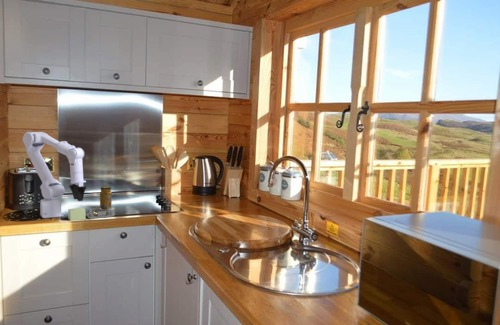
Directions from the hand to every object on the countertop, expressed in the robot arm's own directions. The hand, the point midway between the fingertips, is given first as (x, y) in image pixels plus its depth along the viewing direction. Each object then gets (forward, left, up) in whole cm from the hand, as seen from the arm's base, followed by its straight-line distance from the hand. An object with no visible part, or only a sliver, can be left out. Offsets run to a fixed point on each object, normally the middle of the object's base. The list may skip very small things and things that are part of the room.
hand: (78, 199), depth 205 cm
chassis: (+11, +2, -10) cm, 14 cm away
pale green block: (-1, 0, -10) cm, 10 cm away
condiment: (+19, +18, -10) cm, 28 cm away
